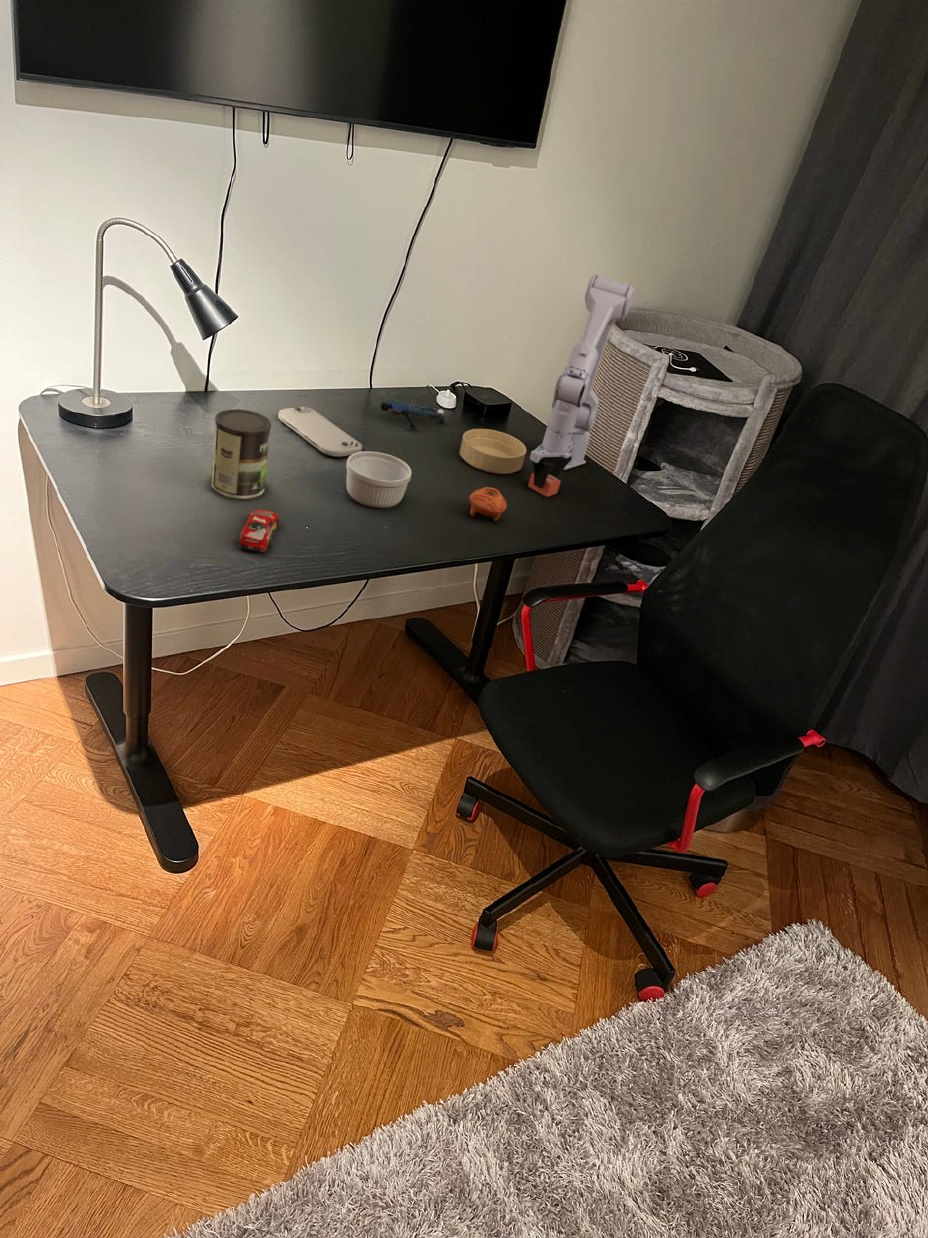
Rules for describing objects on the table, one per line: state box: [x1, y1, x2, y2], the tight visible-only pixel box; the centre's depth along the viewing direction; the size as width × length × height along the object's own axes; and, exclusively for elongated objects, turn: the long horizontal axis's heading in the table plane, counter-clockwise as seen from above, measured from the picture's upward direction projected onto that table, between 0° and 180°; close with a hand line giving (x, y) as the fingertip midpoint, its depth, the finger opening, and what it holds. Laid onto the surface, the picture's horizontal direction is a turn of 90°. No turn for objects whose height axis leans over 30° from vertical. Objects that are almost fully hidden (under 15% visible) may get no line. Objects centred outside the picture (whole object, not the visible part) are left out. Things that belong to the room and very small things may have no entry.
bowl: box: [459, 428, 527, 475], centre depth 214 cm, size 15×15×4 cm
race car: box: [238, 509, 280, 553], centre depth 165 cm, size 13×5×4 cm, turn 177°
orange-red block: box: [527, 472, 561, 498], centre depth 207 cm, size 4×6×4 cm
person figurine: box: [379, 400, 446, 431], centre depth 224 cm, size 11×4×18 cm
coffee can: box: [210, 408, 272, 500], centre depth 175 cm, size 10×10×14 cm
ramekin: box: [345, 450, 412, 509], centre depth 186 cm, size 13×13×7 cm
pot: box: [469, 486, 508, 522], centre depth 190 cm, size 8×8×7 cm
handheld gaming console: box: [277, 406, 364, 459], centre depth 205 cm, size 23×3×10 cm
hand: (543, 484), depth 207 cm, fingers closed on orange-red block, 4 cm apart
